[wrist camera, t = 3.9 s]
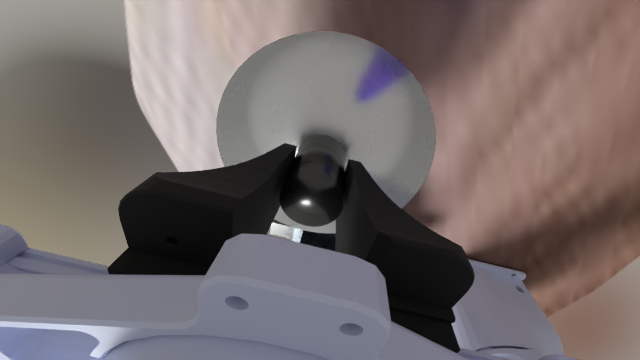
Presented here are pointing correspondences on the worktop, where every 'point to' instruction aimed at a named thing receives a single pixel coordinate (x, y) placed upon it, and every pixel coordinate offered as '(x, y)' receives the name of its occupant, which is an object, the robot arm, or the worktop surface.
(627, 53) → the worktop surface
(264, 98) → the lid
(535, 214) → the worktop surface
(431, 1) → the worktop surface
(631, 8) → the worktop surface
